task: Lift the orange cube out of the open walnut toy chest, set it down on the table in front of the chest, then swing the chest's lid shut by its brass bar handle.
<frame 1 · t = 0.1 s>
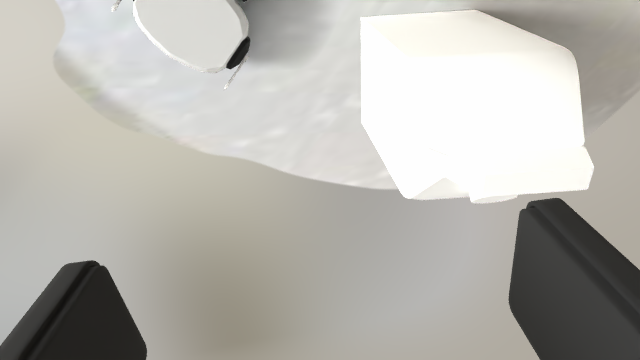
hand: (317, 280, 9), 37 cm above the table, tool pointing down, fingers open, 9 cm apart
milk: (414, 68, 44), on the table
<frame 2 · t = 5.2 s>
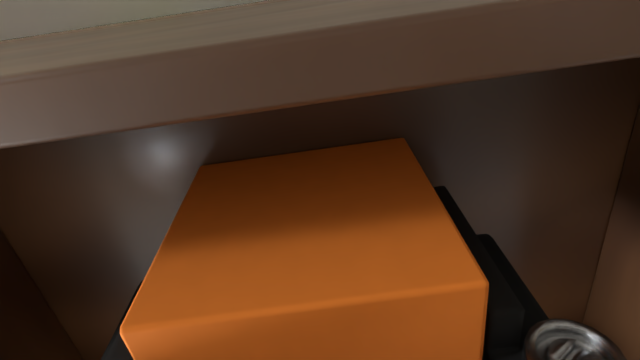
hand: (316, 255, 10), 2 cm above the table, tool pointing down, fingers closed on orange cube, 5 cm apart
orange cube: (315, 233, 11), point 1 cm above the table, touching chest, gripper
chest: (321, 257, 12), on the table
when the fingers open (1 cm above the table, at t = 12.3 s): orange cube stays where it is, on the table.
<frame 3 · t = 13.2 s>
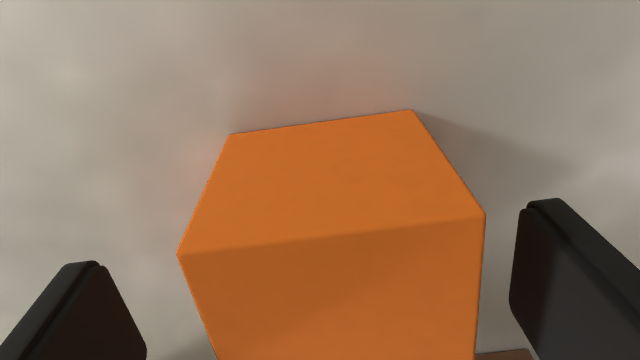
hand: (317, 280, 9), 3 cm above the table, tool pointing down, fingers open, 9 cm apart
orange cube: (330, 199, 12), on the table
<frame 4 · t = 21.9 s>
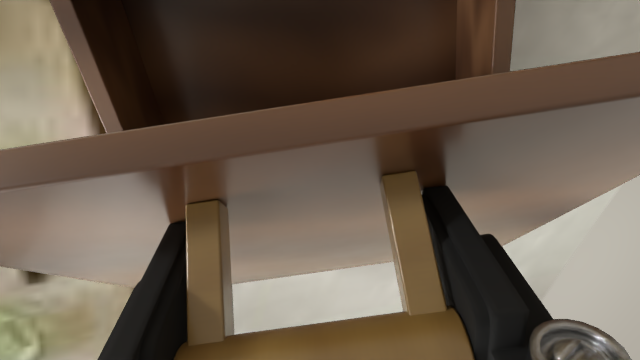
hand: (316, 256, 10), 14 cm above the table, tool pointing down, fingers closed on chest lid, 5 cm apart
chest: (307, 95, 22), on the table
chest lid: (328, 293, 13), point 12 cm above the table, hinge at 41.3°, touching gripper
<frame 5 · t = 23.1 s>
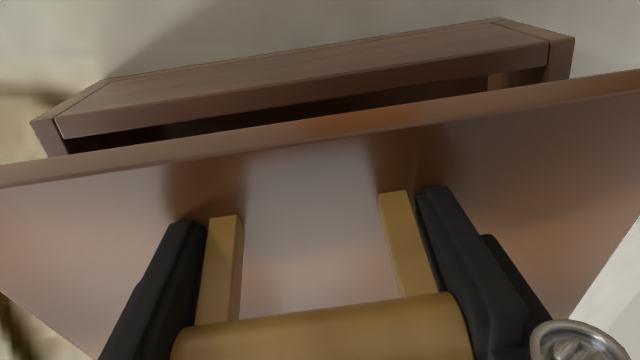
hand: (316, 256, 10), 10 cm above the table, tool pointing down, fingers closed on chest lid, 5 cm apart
chest: (321, 192, 21), on the table
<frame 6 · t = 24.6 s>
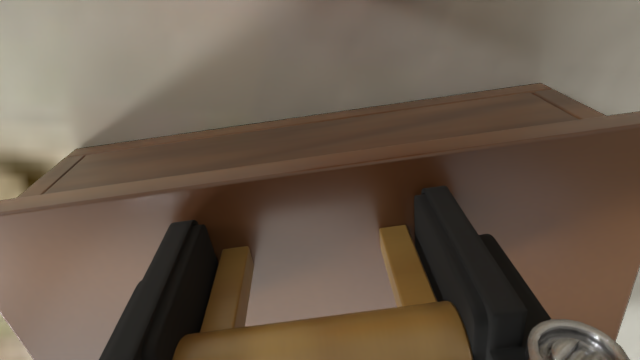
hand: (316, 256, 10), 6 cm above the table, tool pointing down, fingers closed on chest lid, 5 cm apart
chest: (328, 265, 18), on the table
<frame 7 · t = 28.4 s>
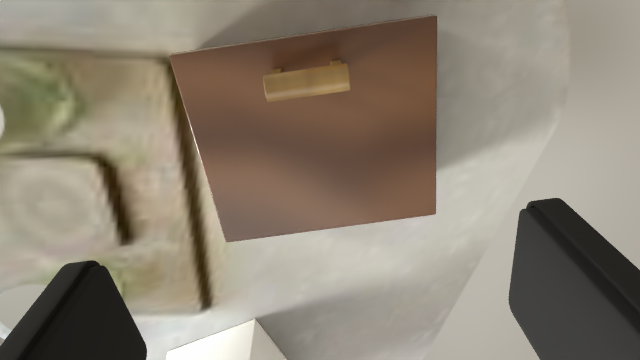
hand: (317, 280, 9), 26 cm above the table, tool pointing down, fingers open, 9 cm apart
chest lid: (318, 153, 28), point 8 cm above the table, hinge at -0.2°, touching chest
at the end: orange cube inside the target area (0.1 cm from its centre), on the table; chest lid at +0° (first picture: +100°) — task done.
